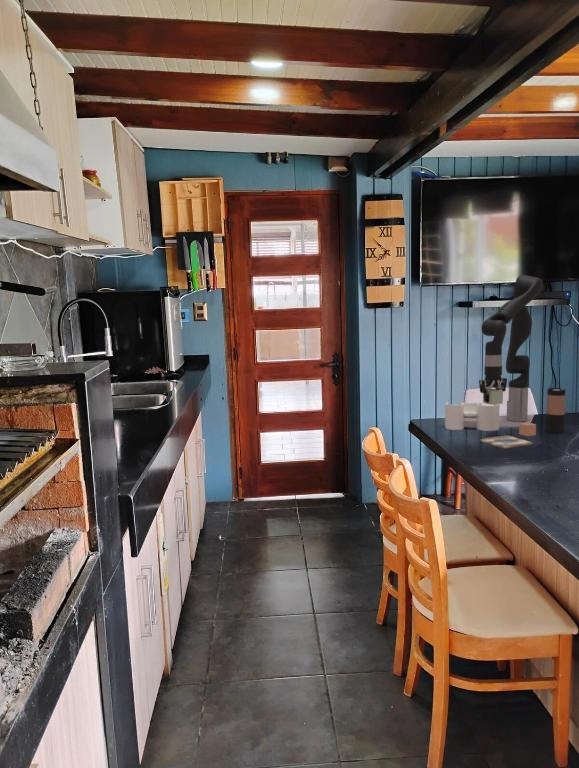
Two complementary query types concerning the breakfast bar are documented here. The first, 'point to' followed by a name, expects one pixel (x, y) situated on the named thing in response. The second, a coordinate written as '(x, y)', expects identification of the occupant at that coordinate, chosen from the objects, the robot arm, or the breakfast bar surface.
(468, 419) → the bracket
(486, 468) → the breakfast bar surface
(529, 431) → the terracotta block
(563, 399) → the travel mug
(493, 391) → the sage block
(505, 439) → the board
